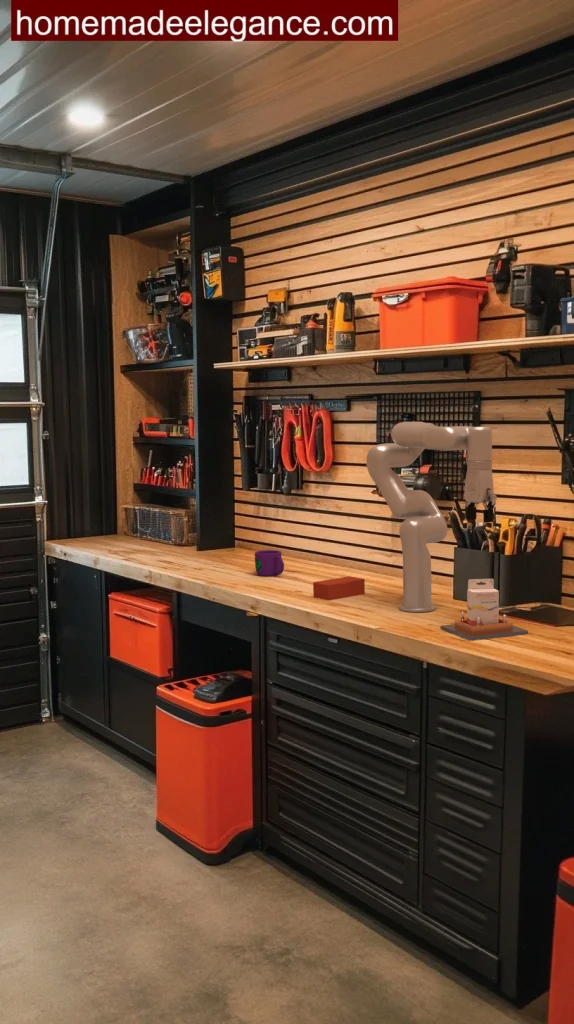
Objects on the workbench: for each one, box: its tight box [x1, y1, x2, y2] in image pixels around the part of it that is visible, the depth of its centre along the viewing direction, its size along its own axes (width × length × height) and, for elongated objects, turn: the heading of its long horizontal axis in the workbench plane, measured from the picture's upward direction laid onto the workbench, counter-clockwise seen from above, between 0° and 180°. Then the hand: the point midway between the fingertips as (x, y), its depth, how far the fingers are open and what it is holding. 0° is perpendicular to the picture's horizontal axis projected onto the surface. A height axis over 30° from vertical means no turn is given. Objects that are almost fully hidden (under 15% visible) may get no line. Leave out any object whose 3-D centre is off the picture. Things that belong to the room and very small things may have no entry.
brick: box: [312, 576, 366, 601], centre depth 337 cm, size 18×9×6 cm, turn 128°
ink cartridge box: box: [466, 578, 500, 626], centre depth 274 cm, size 9×5×15 cm, turn 95°
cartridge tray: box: [439, 611, 529, 641], centre depth 274 cm, size 17×20×6 cm
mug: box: [254, 549, 285, 577], centre depth 385 cm, size 17×11×10 cm, turn 34°
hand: (479, 520), depth 284 cm, fingers open, 9 cm apart
